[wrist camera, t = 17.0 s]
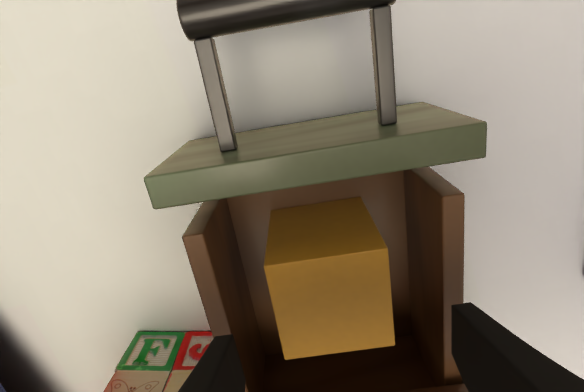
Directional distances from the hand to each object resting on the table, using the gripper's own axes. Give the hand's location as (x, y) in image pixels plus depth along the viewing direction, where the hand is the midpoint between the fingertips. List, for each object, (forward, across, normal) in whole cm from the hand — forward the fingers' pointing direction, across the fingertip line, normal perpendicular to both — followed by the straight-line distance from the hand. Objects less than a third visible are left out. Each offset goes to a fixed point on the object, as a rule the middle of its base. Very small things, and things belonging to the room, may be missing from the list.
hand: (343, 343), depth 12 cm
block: (+7, 0, 0) cm, 7 cm away
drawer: (+8, 0, -2) cm, 8 cm away
